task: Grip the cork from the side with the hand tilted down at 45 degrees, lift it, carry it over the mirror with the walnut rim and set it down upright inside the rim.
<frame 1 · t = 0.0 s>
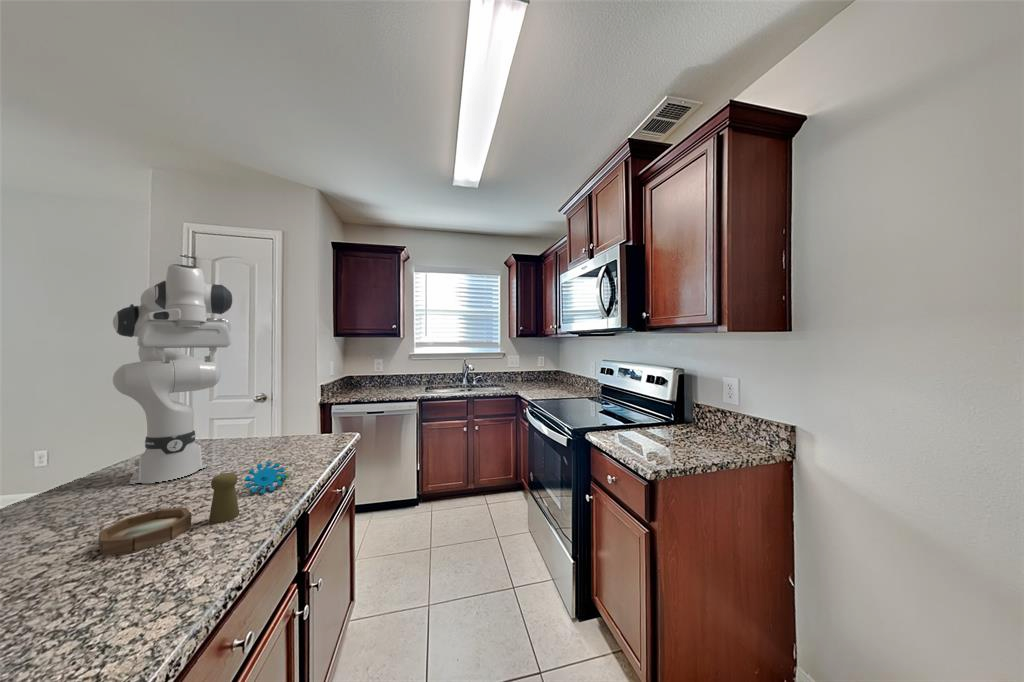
hand: (187, 362, 102), 39 cm above the countertop, tool pointing down, fingers open, 8 cm apart
gear: (267, 490, 104), on the countertop
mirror: (147, 535, 79), on the countertop
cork: (224, 518, 87), on the countertop
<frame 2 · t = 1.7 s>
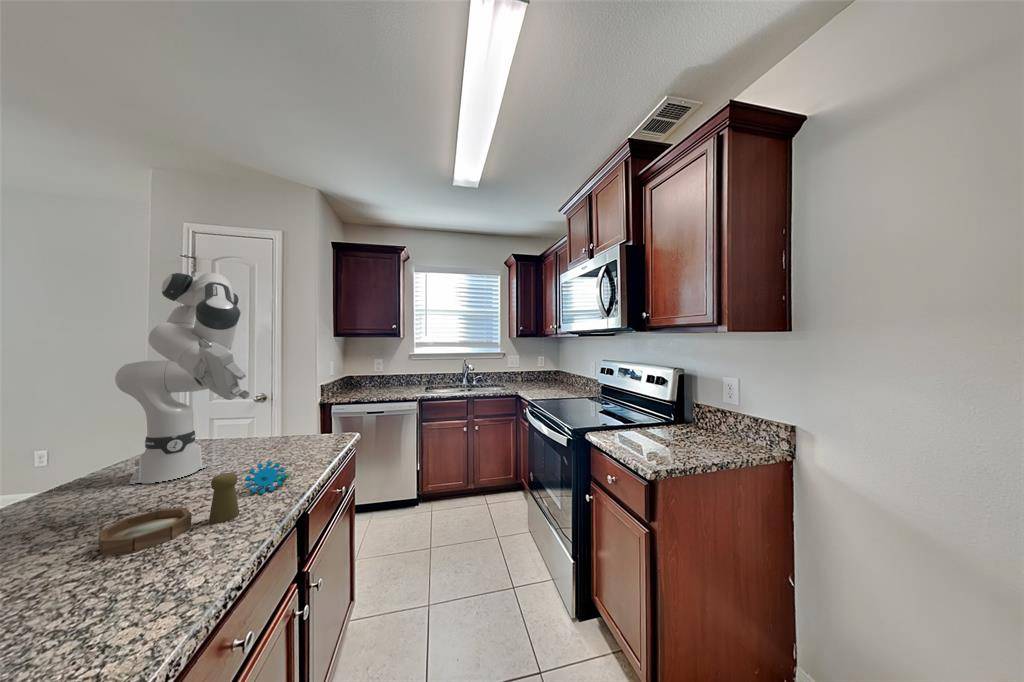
hand: (245, 386, 96), 32 cm above the countertop, tool tilted 60°, fingers open, 8 cm apart
nothing on the countertop moved.
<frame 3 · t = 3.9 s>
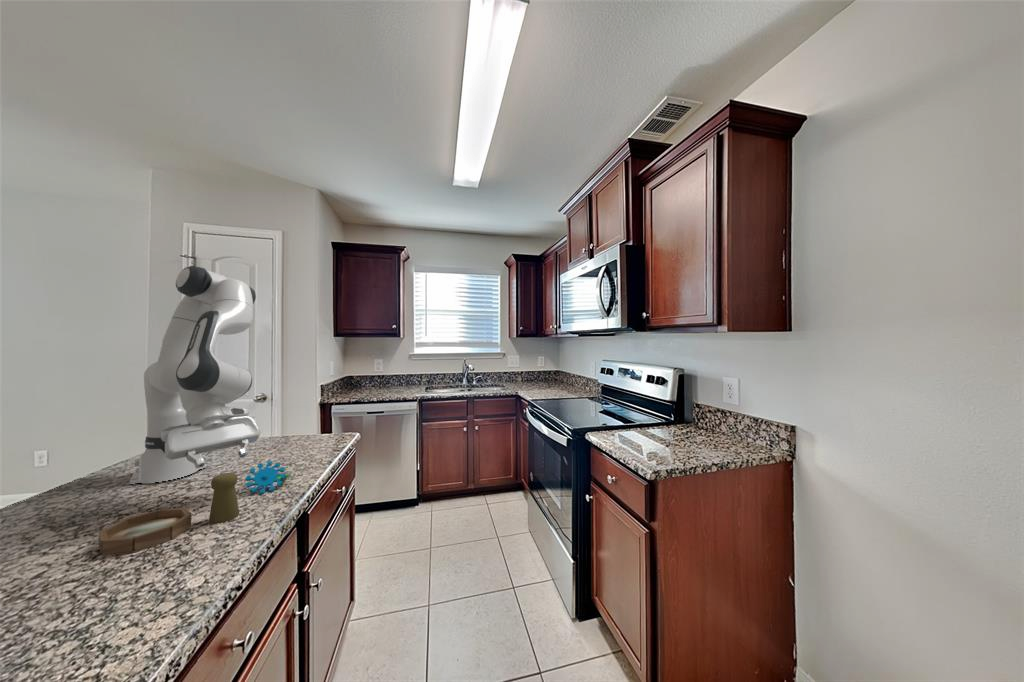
hand: (223, 460, 93), 12 cm above the countertop, tool tilted 45°, fingers open, 8 cm apart
nothing on the countertop moved.
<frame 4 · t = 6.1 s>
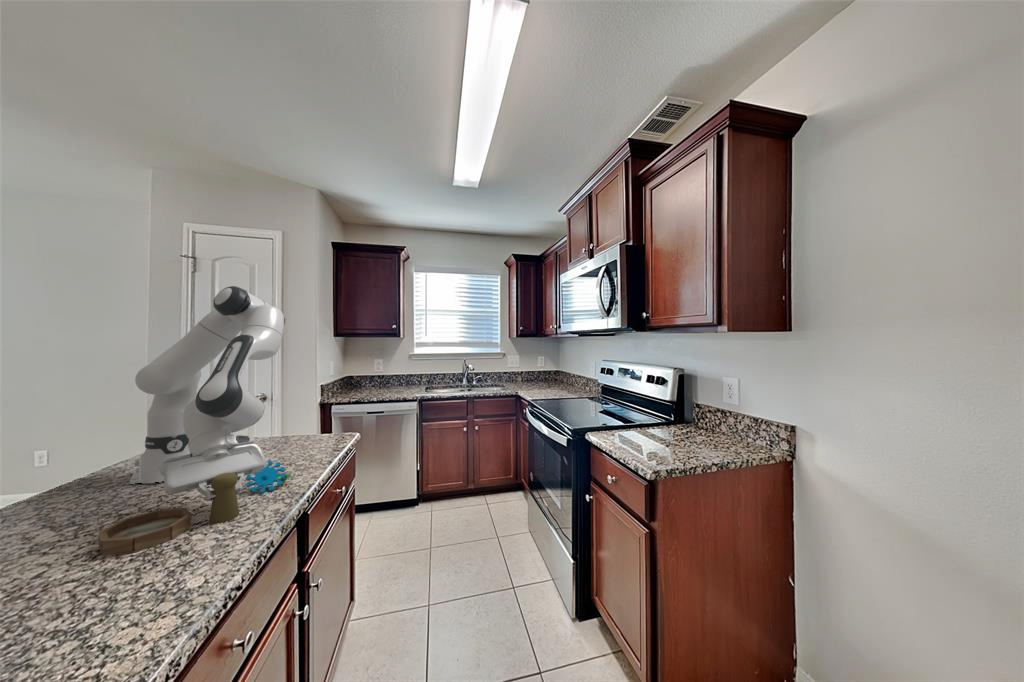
hand: (225, 495, 86), 6 cm above the countertop, tool tilted 45°, fingers closed on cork, 4 cm apart
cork: (224, 518, 87), on the countertop, touching gripper
everything else where it was.
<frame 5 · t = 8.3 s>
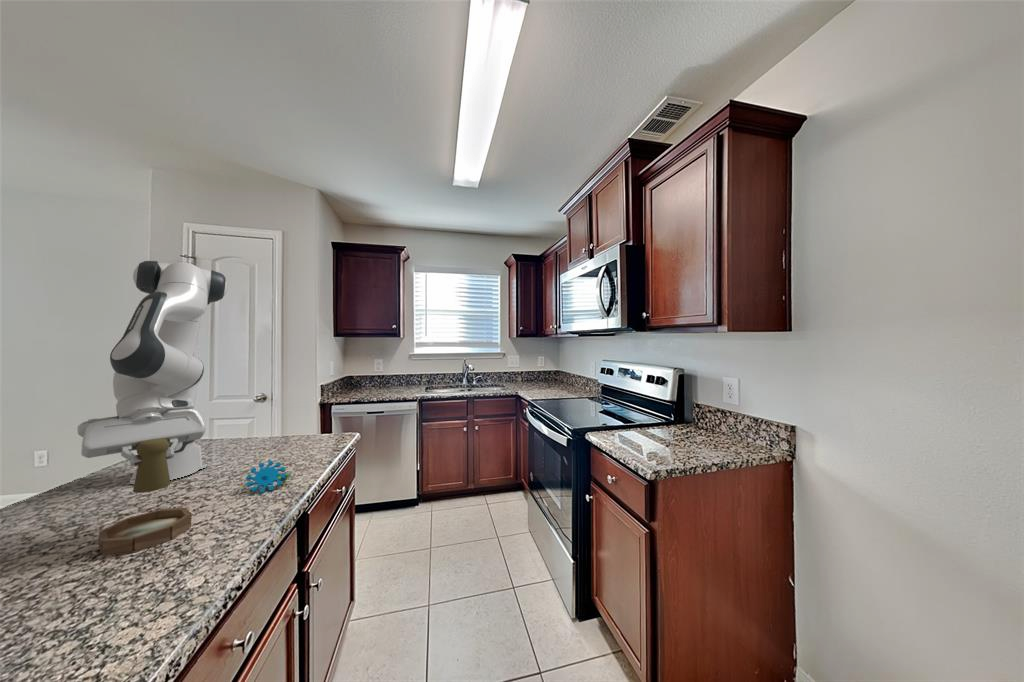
hand: (153, 460, 79), 17 cm above the countertop, tool tilted 45°, fingers closed on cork, 4 cm apart
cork: (152, 488, 79), point 11 cm above the countertop, touching gripper
everything else where it was.
when the fingers open (8 cm above the countertop, at t = 10.6 s): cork stays where it is, resting on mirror.
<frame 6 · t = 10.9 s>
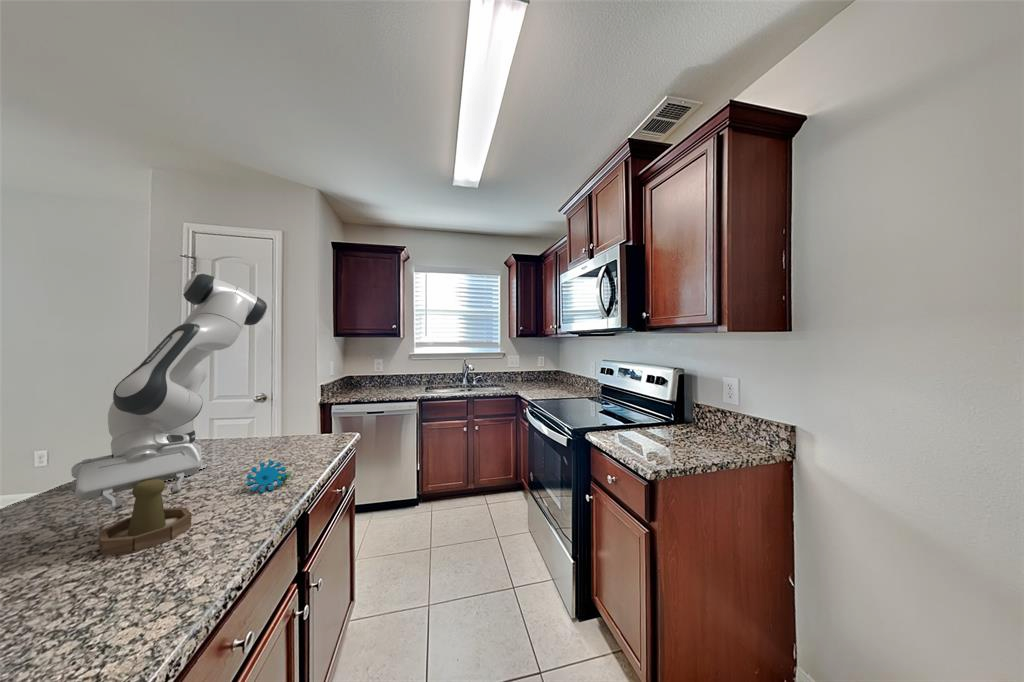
hand: (148, 500, 78), 8 cm above the countertop, tool tilted 45°, fingers open, 8 cm apart
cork: (147, 530, 79), point 1 cm above the countertop, touching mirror
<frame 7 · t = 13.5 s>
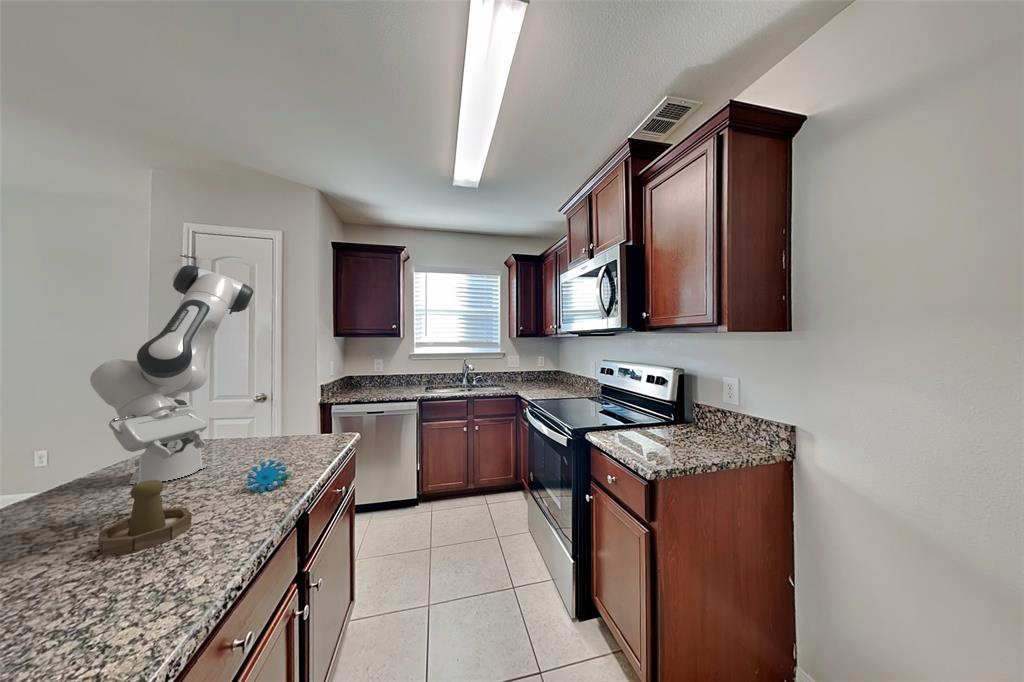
hand: (186, 451, 89), 16 cm above the countertop, tool tilted 45°, fingers open, 8 cm apart
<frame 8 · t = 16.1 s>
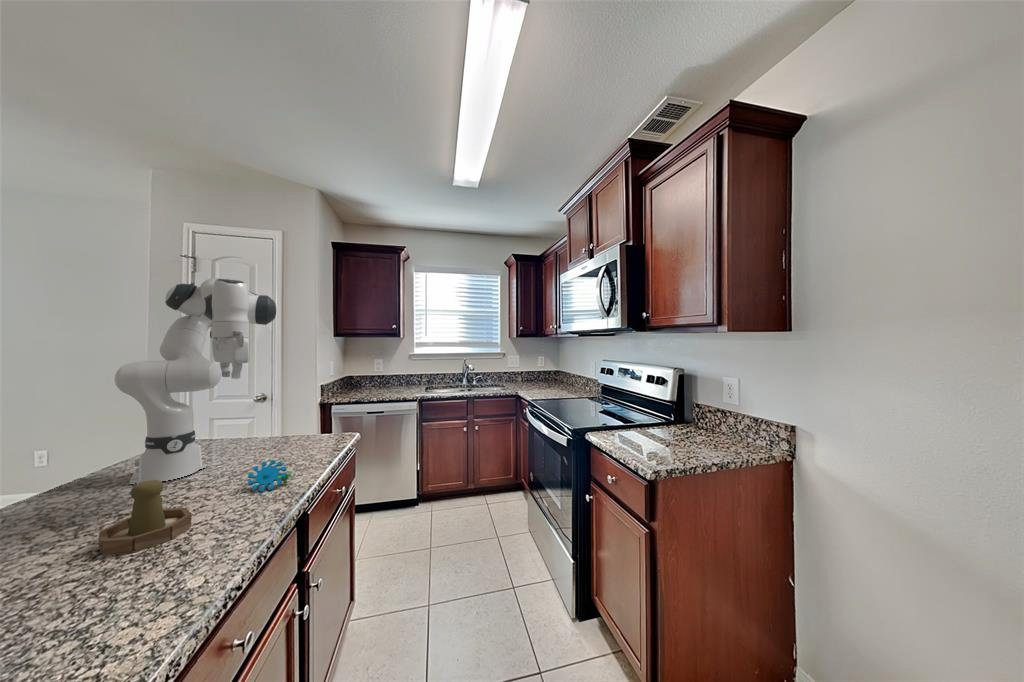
hand: (230, 377, 103), 34 cm above the countertop, tool pointing down, fingers open, 8 cm apart
at the end: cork inside the target area on the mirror (0.4 cm from its centre), point 1.1 cm above the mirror's base; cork tilted 0°; the gripper is holding nothing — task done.
